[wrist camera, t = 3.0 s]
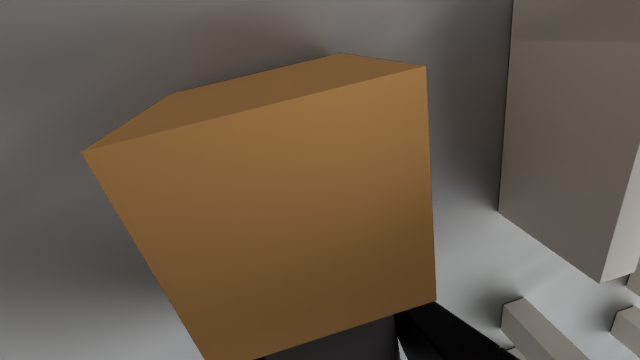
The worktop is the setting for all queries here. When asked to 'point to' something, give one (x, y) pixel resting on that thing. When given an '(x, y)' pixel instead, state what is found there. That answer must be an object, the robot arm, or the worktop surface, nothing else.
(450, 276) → the worktop surface
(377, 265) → the stamp-like rod
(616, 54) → the cream arch-shaped block
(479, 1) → the worktop surface
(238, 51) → the worktop surface
